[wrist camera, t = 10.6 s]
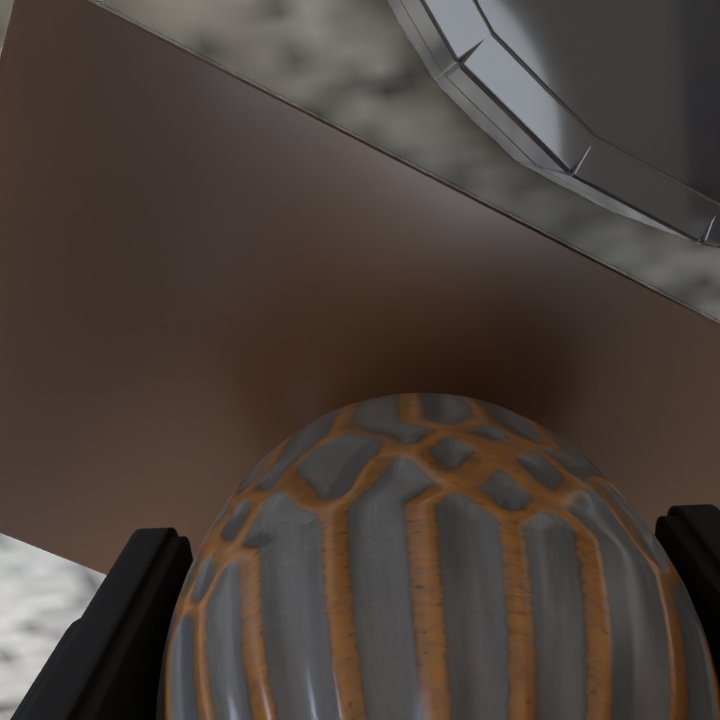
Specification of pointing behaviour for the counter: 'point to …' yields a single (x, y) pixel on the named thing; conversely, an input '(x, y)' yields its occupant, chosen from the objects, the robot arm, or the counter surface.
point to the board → (279, 297)
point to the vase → (432, 582)
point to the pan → (591, 95)
